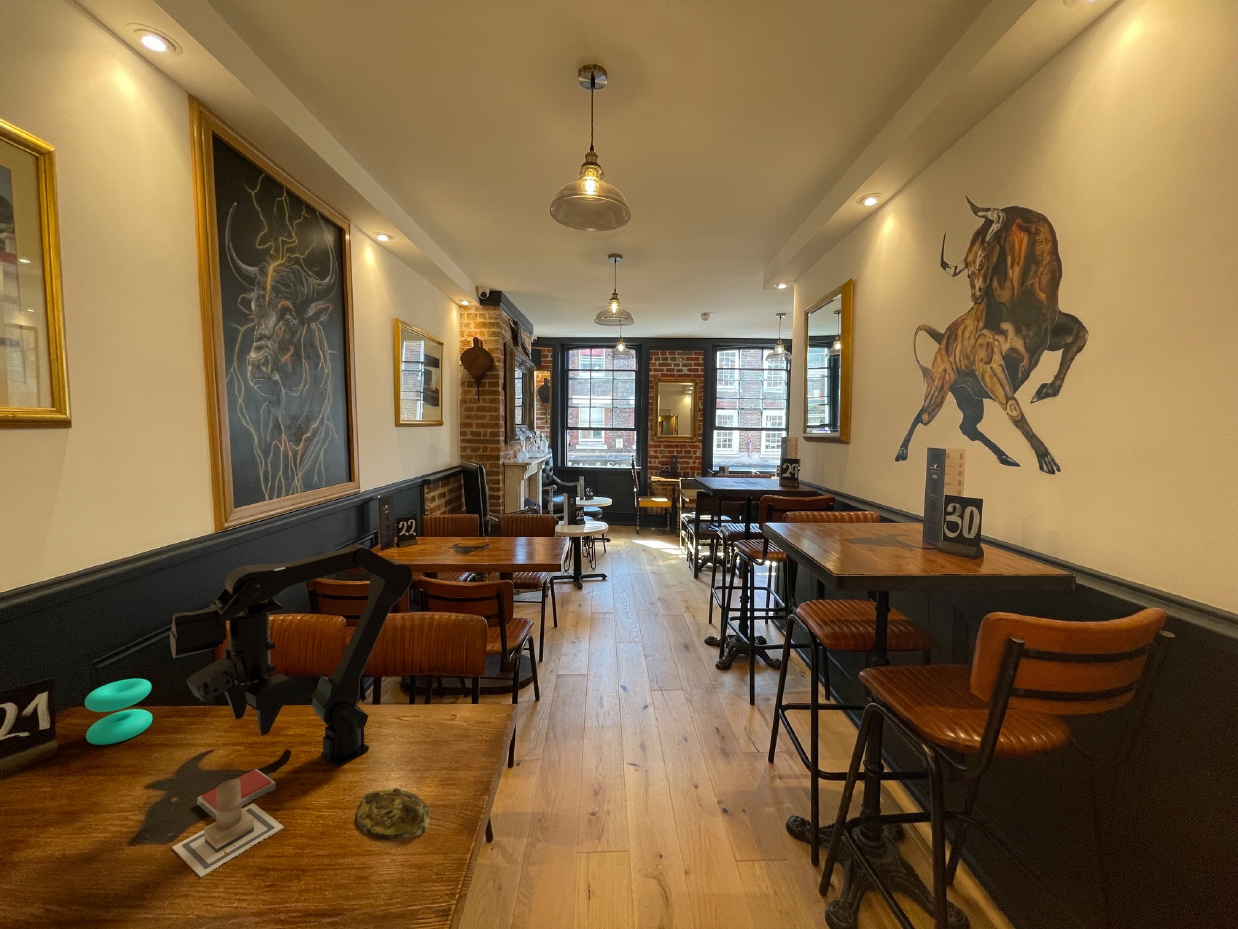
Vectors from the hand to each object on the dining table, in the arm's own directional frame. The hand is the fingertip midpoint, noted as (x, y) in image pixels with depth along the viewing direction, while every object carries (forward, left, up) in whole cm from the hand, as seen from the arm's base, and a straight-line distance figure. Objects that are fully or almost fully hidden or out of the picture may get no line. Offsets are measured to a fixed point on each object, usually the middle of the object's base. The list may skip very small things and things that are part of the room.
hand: (251, 726), depth 90 cm
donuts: (+6, -43, -12) cm, 45 cm away
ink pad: (+2, -1, -12) cm, 12 cm away
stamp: (+7, +9, -12) cm, 16 cm away
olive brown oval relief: (-10, +26, -13) cm, 30 cm away
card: (+7, +9, -12) cm, 16 cm away
